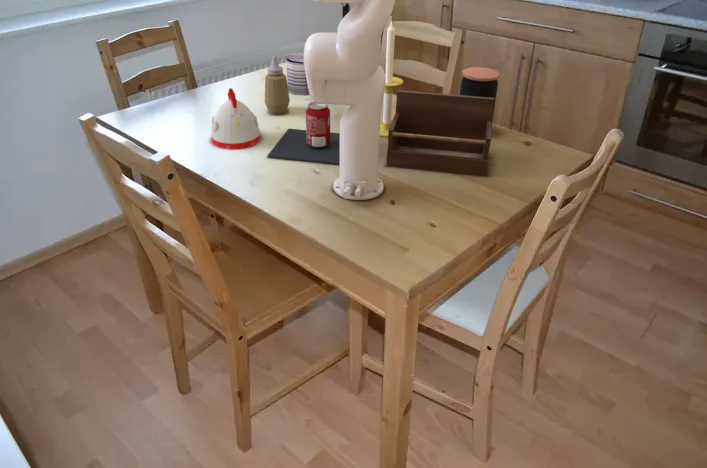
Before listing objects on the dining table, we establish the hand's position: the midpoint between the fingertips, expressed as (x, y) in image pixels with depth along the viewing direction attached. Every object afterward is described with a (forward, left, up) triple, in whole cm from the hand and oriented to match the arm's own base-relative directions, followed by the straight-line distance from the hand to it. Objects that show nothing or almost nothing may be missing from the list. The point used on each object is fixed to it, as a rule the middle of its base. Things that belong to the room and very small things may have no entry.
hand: (365, 22), depth 150 cm
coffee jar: (+19, -31, -34) cm, 50 cm away
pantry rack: (-4, -22, -34) cm, 41 cm away
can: (+43, +30, -34) cm, 63 cm away
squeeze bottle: (+20, +32, -34) cm, 51 cm away
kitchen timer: (-4, +37, -34) cm, 51 cm away
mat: (-4, +12, -34) cm, 37 cm away
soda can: (-4, +12, -34) cm, 36 cm away
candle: (+13, -5, -34) cm, 37 cm away
